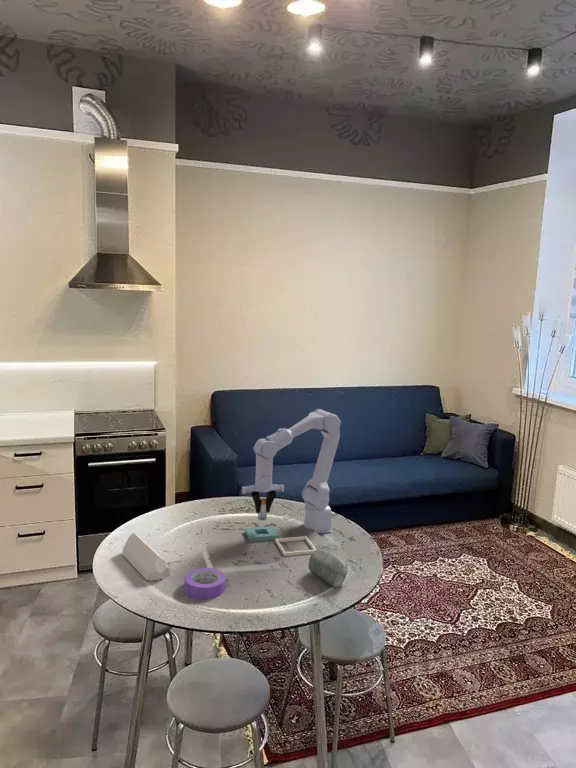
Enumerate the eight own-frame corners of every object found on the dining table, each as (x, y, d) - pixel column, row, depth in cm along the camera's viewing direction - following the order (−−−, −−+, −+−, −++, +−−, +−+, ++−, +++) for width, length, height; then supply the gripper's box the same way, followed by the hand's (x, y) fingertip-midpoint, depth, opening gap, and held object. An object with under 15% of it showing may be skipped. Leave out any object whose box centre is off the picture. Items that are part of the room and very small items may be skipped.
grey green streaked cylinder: (297, 562, 180) (315, 536, 179) (317, 569, 186) (335, 544, 185) (319, 593, 169) (338, 565, 168) (340, 598, 175) (359, 572, 174)
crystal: (114, 543, 187) (143, 574, 168) (132, 528, 190) (163, 557, 171) (125, 559, 190) (155, 591, 171) (143, 544, 193) (175, 574, 174)
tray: (306, 542, 202) (306, 536, 202) (316, 557, 192) (317, 550, 191) (274, 545, 199) (275, 538, 199) (283, 560, 189) (284, 553, 188)
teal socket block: (272, 534, 208) (272, 526, 208) (278, 543, 201) (278, 535, 200) (244, 536, 206) (245, 528, 205) (249, 545, 198) (250, 537, 198)
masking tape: (230, 582, 173) (230, 570, 173) (217, 602, 162) (217, 589, 162) (193, 576, 176) (193, 565, 175) (177, 596, 165) (177, 583, 164)
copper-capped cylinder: (265, 516, 204) (266, 497, 203) (267, 520, 201) (268, 500, 200) (257, 517, 203) (257, 498, 202) (259, 520, 200) (259, 501, 199)
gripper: (245, 478, 194) (244, 517, 196) (287, 476, 198) (285, 514, 200) (241, 472, 200) (240, 510, 202) (281, 470, 204) (280, 507, 207)
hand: (262, 512), depth 202 cm, fingers closed on copper-capped cylinder, 3 cm apart
